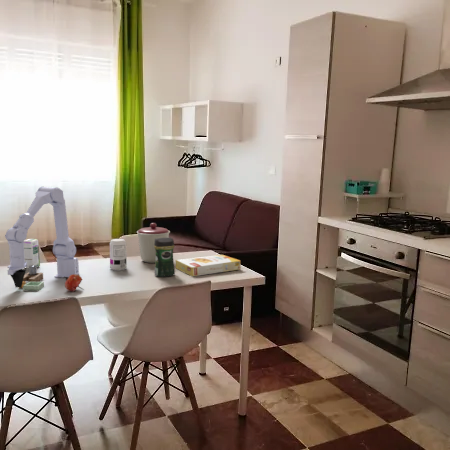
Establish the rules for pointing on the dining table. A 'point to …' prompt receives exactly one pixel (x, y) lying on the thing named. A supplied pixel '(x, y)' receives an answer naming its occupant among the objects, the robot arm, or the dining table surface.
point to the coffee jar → (164, 257)
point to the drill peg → (32, 270)
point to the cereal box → (207, 265)
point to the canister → (150, 241)
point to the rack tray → (33, 286)
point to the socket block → (33, 277)
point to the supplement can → (118, 254)
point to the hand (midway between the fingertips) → (18, 287)
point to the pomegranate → (72, 282)
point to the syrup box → (31, 252)
